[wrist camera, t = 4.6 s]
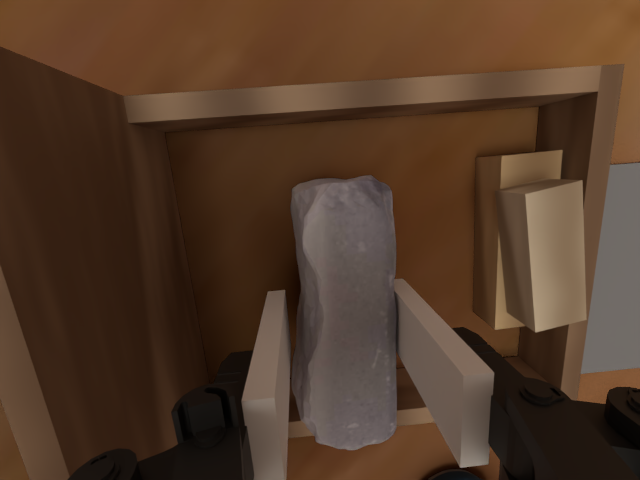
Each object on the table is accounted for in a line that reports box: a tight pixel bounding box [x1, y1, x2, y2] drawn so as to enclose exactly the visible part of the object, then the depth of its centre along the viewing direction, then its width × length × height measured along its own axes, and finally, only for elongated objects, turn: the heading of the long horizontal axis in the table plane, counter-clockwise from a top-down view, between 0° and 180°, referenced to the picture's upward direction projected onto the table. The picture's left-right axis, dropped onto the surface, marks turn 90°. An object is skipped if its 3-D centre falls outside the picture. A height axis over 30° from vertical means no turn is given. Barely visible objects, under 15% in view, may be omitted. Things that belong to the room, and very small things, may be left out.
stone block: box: [290, 175, 397, 450], centre depth 16 cm, size 12×5×10 cm, turn 1°
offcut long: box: [473, 150, 563, 330], centre depth 20 cm, size 4×11×3 cm, turn 6°
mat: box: [581, 163, 640, 374], centre depth 23 cm, size 11×16×1 cm
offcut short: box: [495, 179, 587, 333], centre depth 18 cm, size 3×8×2 cm, turn 13°
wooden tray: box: [0, 47, 624, 480], centre depth 15 cm, size 26×20×12 cm
